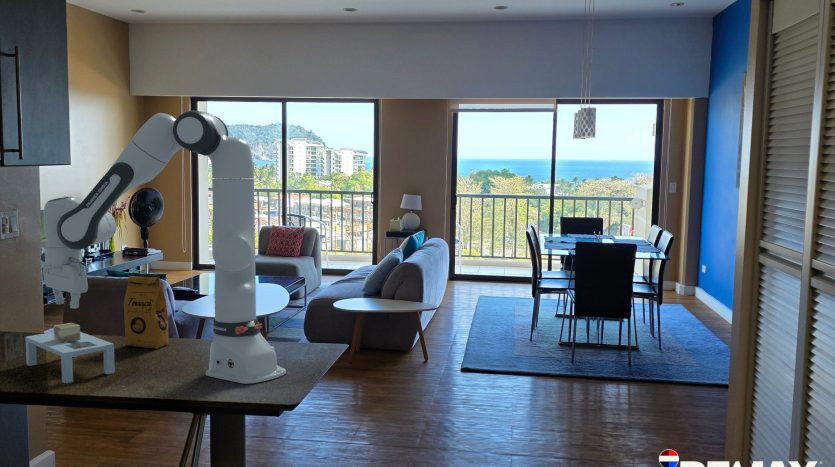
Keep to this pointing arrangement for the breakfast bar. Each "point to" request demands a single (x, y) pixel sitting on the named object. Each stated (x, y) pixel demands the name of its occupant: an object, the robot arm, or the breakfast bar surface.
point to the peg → (66, 332)
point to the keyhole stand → (70, 351)
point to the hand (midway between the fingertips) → (67, 306)
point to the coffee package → (145, 313)
